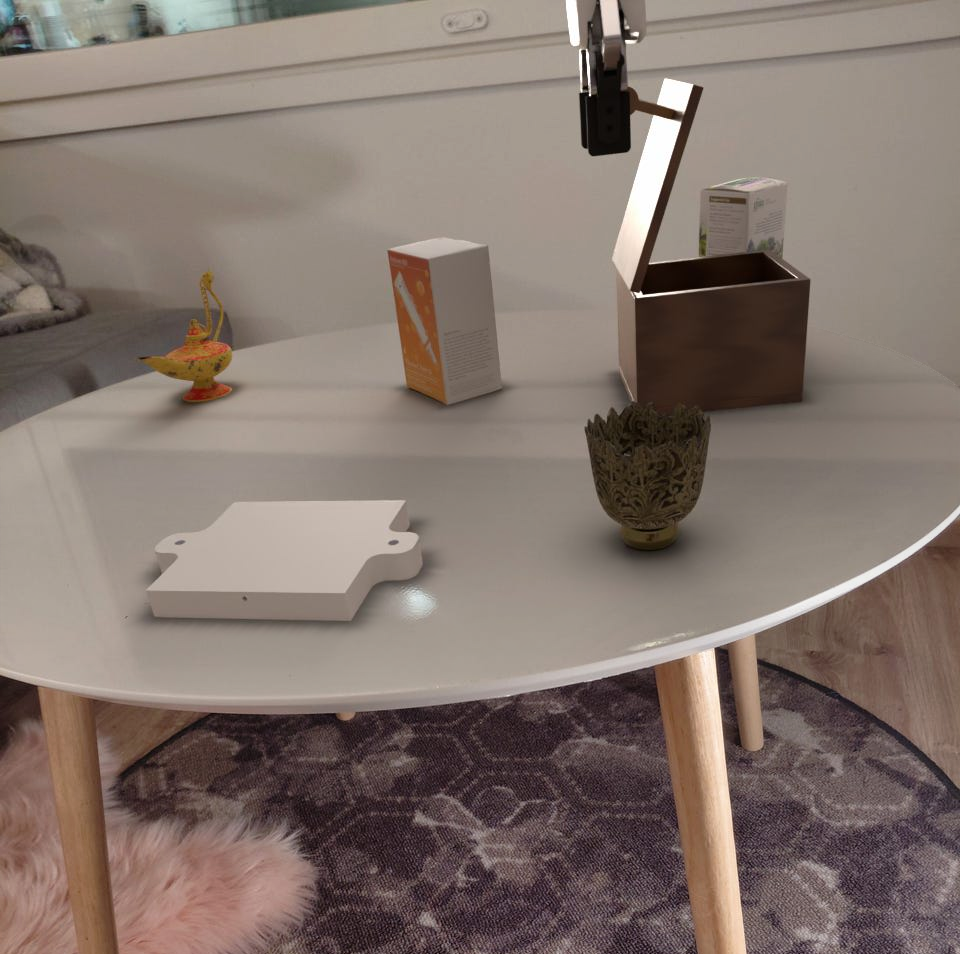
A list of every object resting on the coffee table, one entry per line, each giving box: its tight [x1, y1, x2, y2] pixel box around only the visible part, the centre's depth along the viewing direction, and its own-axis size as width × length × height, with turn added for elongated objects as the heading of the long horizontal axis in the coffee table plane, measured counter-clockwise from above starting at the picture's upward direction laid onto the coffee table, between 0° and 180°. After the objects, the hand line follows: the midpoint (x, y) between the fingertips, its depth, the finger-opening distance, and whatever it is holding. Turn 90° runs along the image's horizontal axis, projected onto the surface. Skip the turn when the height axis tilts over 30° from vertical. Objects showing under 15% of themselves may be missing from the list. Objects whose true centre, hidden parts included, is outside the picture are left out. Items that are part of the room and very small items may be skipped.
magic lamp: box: [133, 269, 233, 403], centre depth 97 cm, size 7×18×11 cm, turn 167°
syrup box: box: [698, 177, 788, 259], centre depth 93 cm, size 6×6×14 cm
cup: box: [583, 401, 712, 551], centre depth 60 cm, size 8×7×8 cm
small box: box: [386, 237, 503, 406], centre depth 90 cm, size 8×6×13 cm
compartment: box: [615, 249, 812, 416], centre depth 84 cm, size 14×13×10 cm
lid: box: [611, 78, 704, 293], centre depth 77 cm, size 14×13×6 cm
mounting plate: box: [145, 499, 424, 622], centre depth 64 cm, size 18×13×2 cm
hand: (605, 147), depth 76 cm, fingers closed on lid, 5 cm apart
